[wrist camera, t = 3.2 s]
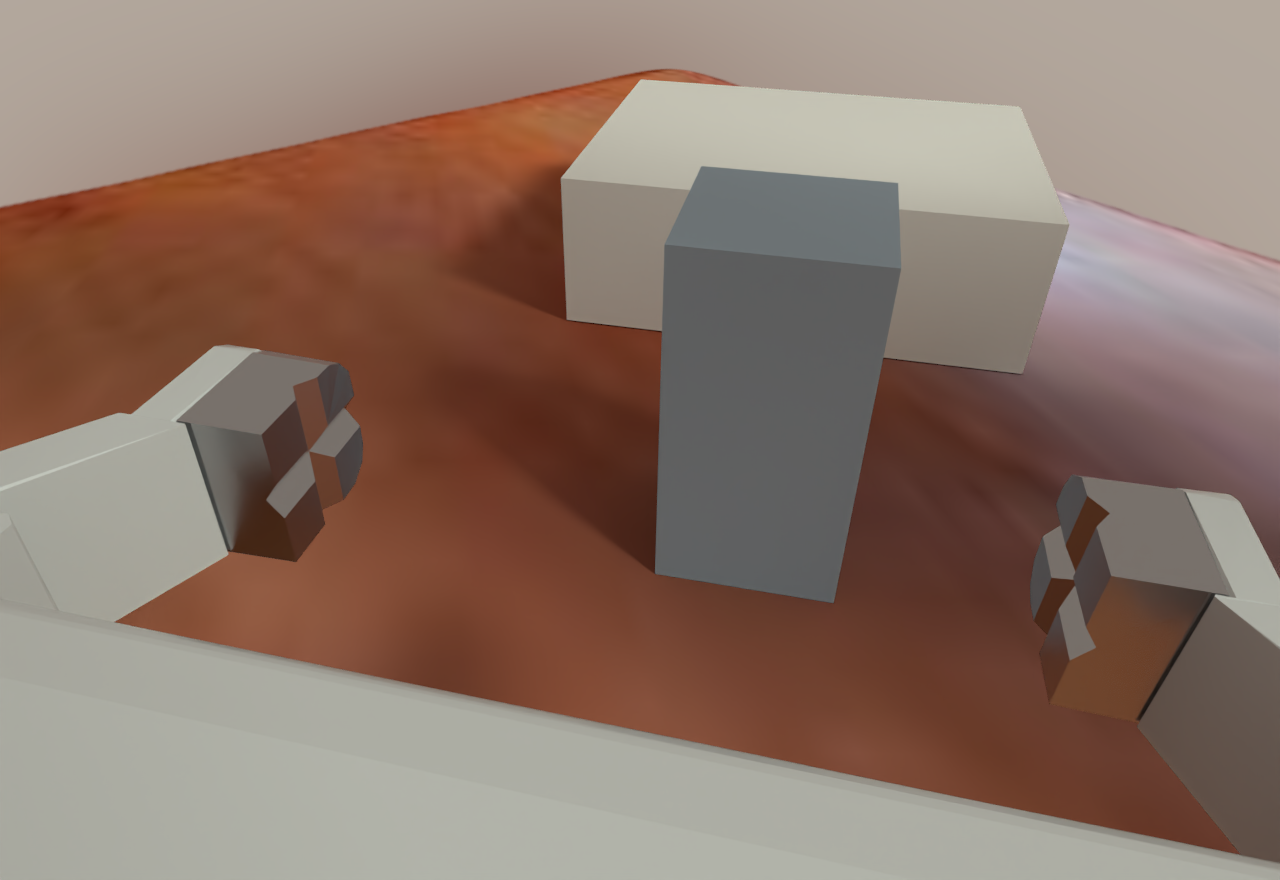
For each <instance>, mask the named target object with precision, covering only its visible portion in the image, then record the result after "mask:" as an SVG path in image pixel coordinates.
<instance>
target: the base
mask: <svg viewBox="0 0 1280 880" xmlns="http://www.w3.org/2000/svg"><path fill="white" fill-rule="evenodd" d="M701 166H707V167H719V168H730V169H742V170H753V171H765V172H777V173H788V174H800V175H811V176H823V177H835V178H846V179H858V180H869V181H881V182H893V183H898V192H899V219H900V247H901V272H900V277H899V282H898V287H897V292H896V297H895V302H894V307H893V312H892V317H891V322H890V327H889V332H888V337H887V342H886V347H885V352H884V357H883V358H892V359H900V360H908V361H917V362H925V363H934V364H942V365H950V366H959V367H967V368H976V369H984V370H992V371H1001V372H1009V373H1018V374H1023V370H1024V367H1025V364H1026V361H1027V358H1028V355H1029V351H1030V348H1031V345H1032V342H1033V339H1034V336H1035V332H1036V329H1037V326H1038V323H1039V320H1040V317H1041V313H1042V310H1043V307H1044V304H1045V301H1046V298H1047V294H1048V291H1049V288H1050V285H1051V282H1052V279H1053V275H1054V272H1055V269H1056V266H1057V263H1058V260H1059V256H1060V253H1061V250H1062V247H1063V244H1064V241H1065V237H1066V234H1067V231H1068V228H1069V223H1068V220H1067V218H1066V215H1065V213H1064V211H1063V208H1062V206H1061V203H1060V201H1059V199H1058V196H1057V194H1056V191H1055V189H1054V187H1053V185H1052V182H1051V180H1050V177H1049V175H1048V173H1047V170H1046V168H1045V165H1044V163H1043V161H1042V158H1041V156H1040V153H1039V151H1038V148H1037V146H1036V144H1035V141H1034V139H1033V136H1032V134H1031V132H1030V129H1029V127H1028V125H1027V122H1026V120H1025V117H1024V115H1023V113H1022V110H1021V108H1020V107H1017V106H1003V105H989V104H976V103H961V102H947V101H934V100H920V99H906V98H892V97H878V96H864V95H850V94H835V93H822V92H808V91H794V90H780V89H766V88H753V87H739V86H725V85H711V84H697V83H683V82H669V81H655V80H640V81H639V82H638V84H637V85H636V86H635V87H634V89H633V90H632V91H631V92H630V93H629V95H628V96H627V97H626V98H625V100H624V101H623V102H622V103H621V105H620V106H619V107H618V108H617V109H616V111H615V112H614V113H613V114H612V116H611V117H610V118H609V119H608V121H607V122H606V123H605V124H604V125H603V127H602V128H601V129H600V130H599V132H598V133H597V134H596V135H595V137H594V138H593V139H592V140H591V142H590V143H589V144H588V145H587V146H586V148H585V149H584V150H583V151H582V153H581V154H580V155H579V156H578V158H577V159H576V160H575V161H574V162H573V164H572V165H571V166H570V167H569V169H568V170H567V171H566V172H565V174H564V175H563V176H562V177H561V195H562V218H563V242H564V265H565V289H566V313H567V320H572V321H581V322H589V323H598V324H606V325H614V326H623V327H631V328H640V329H648V330H656V331H662V314H663V279H664V244H665V242H666V240H667V238H668V236H669V234H670V232H671V230H672V227H673V225H674V223H675V221H676V219H677V217H678V215H679V213H680V211H681V208H682V206H683V204H684V202H685V200H686V198H687V196H688V194H689V191H690V189H691V187H692V185H693V183H694V181H695V179H696V177H697V175H698V172H699V170H700V168H701Z"/></svg>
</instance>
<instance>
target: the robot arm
mask: <svg viewBox="0 0 1280 880" xmlns="http://www.w3.org/2000/svg"><path fill="white" fill-rule="evenodd" d="M353 396H354V393H353V388H352V384H351V380H350V376H349V371H348V370H346V369H345V368H344V367H343V366H342V365H340V364H339V363H335V362H329V361H323V360H317V359H312V358H306V357H300V356H294V355H289V354H283V353H277V352H271V351H261V350H259V349H253V348H246V347H240V346H233V345H220V346H214V347H213V348H211V349H210V350H209V351H208V352H207V353H205V354H204V355H203V356H202V357H200V358H199V359H198V360H197V361H196V362H194V363H193V364H192V365H191V366H190V367H188V368H187V369H186V370H185V371H183V372H182V373H181V374H180V375H179V376H177V377H176V378H175V379H174V380H172V381H171V382H170V383H169V384H168V385H166V386H165V387H164V388H163V389H162V390H160V391H159V392H158V393H157V394H155V395H154V396H153V397H152V398H151V399H149V400H148V401H147V402H146V403H145V404H143V405H142V406H141V407H140V408H138V409H137V410H136V411H135V412H134V413H132V414H124V413H117V414H113V415H110V416H107V417H104V418H101V419H98V420H95V421H92V422H89V423H86V424H83V425H80V426H77V427H74V428H70V429H67V430H64V431H61V432H58V433H55V434H52V435H49V436H46V437H43V438H40V439H37V440H34V441H31V442H27V443H24V444H21V445H18V446H15V447H12V448H9V449H6V450H3V451H0V880H1280V579H1279V577H1278V575H1277V573H1276V571H1275V569H1274V567H1273V565H1272V563H1271V561H1270V559H1269V557H1268V555H1267V554H1266V552H1265V550H1264V548H1263V546H1262V544H1261V542H1260V540H1259V538H1258V536H1257V534H1256V532H1255V530H1254V528H1253V526H1252V524H1251V523H1250V521H1249V519H1248V517H1247V515H1246V513H1245V511H1244V509H1243V507H1242V505H1241V503H1240V502H1239V501H1238V500H1237V499H1236V498H1234V497H1233V496H1231V495H1230V494H1223V493H1215V492H1207V491H1198V490H1190V489H1182V488H1176V489H1173V488H1166V487H1159V486H1151V485H1144V484H1137V483H1129V482H1122V481H1115V480H1108V479H1100V478H1093V477H1086V476H1079V475H1071V477H1070V478H1069V479H1068V481H1067V482H1066V484H1065V485H1064V486H1063V489H1062V491H1061V493H1060V496H1059V498H1058V501H1057V503H1056V507H1057V512H1058V516H1059V520H1060V526H1059V527H1057V528H1055V529H1054V530H1052V531H1051V532H1049V533H1047V534H1046V535H1044V536H1043V537H1042V540H1041V543H1040V546H1039V548H1038V551H1037V554H1036V557H1035V559H1034V564H1033V570H1032V576H1031V582H1030V603H1031V609H1032V615H1033V621H1034V622H1035V623H1036V624H1037V625H1038V626H1039V627H1040V628H1041V629H1042V630H1043V631H1044V632H1045V633H1046V634H1047V637H1046V639H1045V642H1044V644H1043V646H1042V648H1041V651H1040V653H1039V654H1040V659H1041V664H1042V669H1043V674H1044V680H1045V685H1046V690H1047V695H1048V700H1049V704H1051V705H1056V706H1061V707H1065V708H1070V709H1075V710H1079V711H1084V712H1089V713H1093V714H1098V715H1103V716H1107V717H1112V718H1117V719H1121V720H1126V721H1131V722H1135V723H1139V724H1138V725H1137V727H1138V729H1139V730H1140V731H1141V732H1142V734H1143V735H1144V736H1145V737H1146V739H1147V740H1148V741H1149V742H1150V743H1151V745H1152V746H1153V747H1154V748H1155V750H1156V751H1157V752H1158V753H1159V755H1160V756H1161V757H1162V758H1163V759H1164V761H1165V762H1166V763H1167V764H1168V766H1169V767H1170V768H1171V769H1172V770H1173V772H1174V773H1175V774H1176V775H1177V777H1178V778H1179V779H1180V780H1181V782H1182V783H1183V784H1184V785H1185V786H1186V788H1187V789H1188V790H1189V791H1190V793H1191V794H1192V795H1193V796H1194V798H1195V799H1196V800H1197V801H1198V802H1199V804H1200V805H1201V806H1202V807H1203V809H1204V810H1205V811H1206V812H1207V814H1208V815H1209V816H1210V817H1211V818H1212V820H1213V821H1214V822H1215V823H1216V825H1217V826H1218V827H1219V828H1220V830H1221V831H1222V832H1223V833H1224V834H1225V836H1226V837H1227V838H1228V839H1229V841H1230V842H1231V843H1232V844H1233V846H1234V847H1235V848H1236V849H1237V850H1238V852H1239V853H1240V854H1241V855H1239V854H1234V853H1229V852H1224V851H1219V850H1214V849H1210V848H1205V847H1200V846H1195V845H1190V844H1185V843H1181V842H1176V841H1171V840H1166V839H1161V838H1156V837H1151V836H1146V835H1142V834H1137V833H1132V832H1127V831H1122V830H1117V829H1112V828H1107V827H1102V826H1097V825H1093V824H1088V823H1083V822H1078V821H1073V820H1068V819H1063V818H1058V817H1053V816H1048V815H1044V814H1039V813H1034V812H1029V811H1024V810H1019V809H1014V808H1009V807H1004V806H999V805H995V804H990V803H985V802H980V801H975V800H970V799H965V798H961V797H956V796H951V795H946V794H941V793H937V792H932V791H927V790H922V789H918V788H913V787H908V786H903V785H898V784H894V783H889V782H884V781H879V780H874V779H870V778H865V777H860V776H855V775H850V774H846V773H841V772H836V771H831V770H826V769H822V768H817V767H812V766H807V765H802V764H798V763H793V762H788V761H783V760H778V759H774V758H769V757H764V756H759V755H755V754H750V753H745V752H740V751H735V750H731V749H726V748H721V747H716V746H711V745H707V744H702V743H697V742H692V741H687V740H683V739H678V738H673V737H668V736H663V735H658V734H653V733H649V732H644V731H639V730H634V729H629V728H624V727H619V726H615V725H610V724H605V723H600V722H595V721H590V720H585V719H581V718H576V717H571V716H566V715H561V714H556V713H551V712H547V711H542V710H537V709H532V708H527V707H522V706H517V705H513V704H508V703H503V702H498V701H493V700H488V699H483V698H479V697H474V696H469V695H464V694H459V693H454V692H449V691H445V690H440V689H435V688H430V687H425V686H420V685H415V684H411V683H406V682H401V681H396V680H391V679H386V678H381V677H377V676H372V675H367V674H362V673H357V672H352V671H348V670H343V669H338V668H333V667H328V666H323V665H319V664H314V663H309V662H304V661H299V660H294V659H289V658H285V657H280V656H275V655H270V654H265V653H260V652H256V651H251V650H246V649H241V648H236V647H231V646H227V645H222V644H217V643H212V642H207V641H202V640H198V639H193V638H188V637H183V636H178V635H173V634H168V633H164V632H159V631H154V630H149V629H144V628H139V627H135V626H130V625H125V624H120V623H115V621H117V620H118V619H120V618H122V617H124V616H125V615H127V614H129V613H130V612H132V611H134V610H135V609H137V608H139V607H141V606H142V605H144V604H146V603H147V602H149V601H151V600H152V599H154V598H156V597H158V596H159V595H161V594H163V593H164V592H166V591H168V590H169V589H171V588H173V587H175V586H176V585H178V584H180V583H181V582H183V581H185V580H186V579H188V578H190V577H191V576H193V575H195V574H197V573H198V572H200V571H202V570H203V569H205V568H207V567H208V566H210V565H212V564H214V563H215V562H217V561H219V560H220V559H222V558H224V557H225V556H227V555H228V551H230V552H236V553H243V554H249V555H255V556H262V557H268V558H274V559H280V560H287V561H293V562H297V560H298V559H299V558H300V556H301V555H302V554H303V552H304V551H305V550H306V549H307V547H308V546H309V545H310V543H311V542H312V541H313V539H314V538H315V537H316V535H317V534H318V533H319V532H320V530H321V529H322V528H323V526H324V525H325V521H324V516H323V512H322V510H323V509H325V508H327V507H329V506H332V505H334V504H336V503H338V502H340V501H342V500H344V498H345V497H346V496H347V494H348V493H349V491H350V490H351V489H352V487H353V486H354V484H355V482H356V479H357V476H358V473H359V470H360V467H361V464H362V454H363V441H362V435H361V429H360V426H359V424H358V423H357V422H356V421H355V420H354V418H353V417H352V416H351V415H350V414H349V413H348V411H347V410H346V409H345V408H346V406H347V405H348V404H349V402H350V401H351V399H352V398H353Z"/></svg>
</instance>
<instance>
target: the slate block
mask: <svg viewBox="0 0 1280 880" xmlns="http://www.w3.org/2000/svg"><path fill="white" fill-rule="evenodd" d="M900 272H901V247H900V219H899V192H898V183H893V182H881V181H869V180H858V179H846V178H835V177H823V176H811V175H800V174H788V173H777V172H765V171H753V170H742V169H730V168H719V167H707V166H701V168H700V170H699V172H698V175H697V177H696V179H695V181H694V183H693V185H692V187H691V189H690V191H689V194H688V196H687V198H686V200H685V202H684V204H683V206H682V208H681V211H680V213H679V215H678V217H677V219H676V221H675V223H674V225H673V227H672V230H671V232H670V234H669V236H668V238H667V240H666V242H665V244H664V279H663V314H662V348H661V383H660V418H659V452H658V487H657V522H656V556H655V574H659V575H665V576H671V577H677V578H683V579H689V580H695V581H701V582H708V583H714V584H720V585H726V586H732V587H738V588H744V589H750V590H756V591H762V592H768V593H774V594H781V595H787V596H793V597H799V598H805V599H811V600H817V601H823V602H829V603H834V599H835V594H836V589H837V584H838V579H839V575H840V570H841V565H842V560H843V555H844V550H845V545H846V540H847V535H848V530H849V525H850V520H851V515H852V510H853V505H854V500H855V495H856V490H857V485H858V480H859V475H860V471H861V466H862V461H863V456H864V451H865V446H866V441H867V436H868V431H869V426H870V421H871V416H872V411H873V406H874V401H875V396H876V391H877V386H878V381H879V376H880V371H881V367H882V362H883V357H884V352H885V347H886V342H887V337H888V332H889V327H890V322H891V317H892V312H893V307H894V302H895V297H896V292H897V287H898V282H899V277H900Z"/></svg>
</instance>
